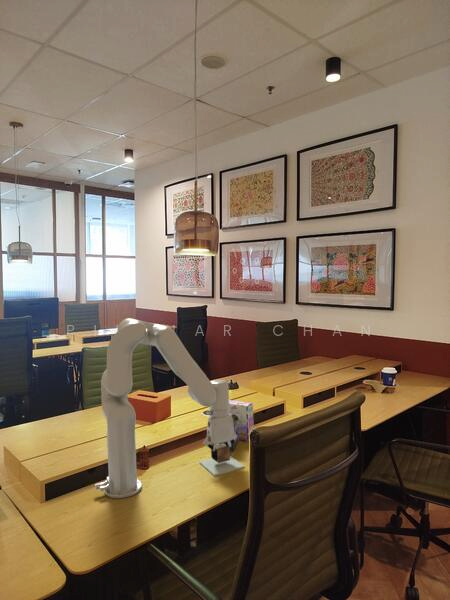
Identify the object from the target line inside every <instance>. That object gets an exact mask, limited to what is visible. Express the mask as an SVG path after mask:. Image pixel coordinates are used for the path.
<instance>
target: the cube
mask: <svg viewBox="0 0 450 600" xmlns="http://www.w3.org/2000/svg"><path fill="white" fill-rule="evenodd" d="M216 451H217V461H216V462H218V463H221V462H225V461H229V460H230V456H231V452H230V448H229V447H228V446H227V445H225V444H224V443H222V444H217V446H216Z"/></svg>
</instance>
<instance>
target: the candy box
mask: <svg viewBox="0 0 450 600" xmlns="http://www.w3.org/2000/svg"><path fill="white" fill-rule="evenodd" d="M229 414H231V416H232V420H237V441H242V442H247V443H249V442H250V441H249V433H250V431H251V430H253V429H254V427H255V425H254V403H253V402H249V401H248V402H247V401H241V400H233V399H229ZM254 430H255V429H254Z"/></svg>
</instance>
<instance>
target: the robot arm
mask: <svg viewBox="0 0 450 600" xmlns="http://www.w3.org/2000/svg"><path fill="white" fill-rule="evenodd" d="M139 344H143V345H148V346H152V347H153V346H154V347H155V348H156V349H157V350H158V352H159V353H160V354H161V357H163V359H164V360H165V361H166V363H167V365H168V366H169V368H170V369H171V371H173V373H174V374H175V375H176V376H177V377H179V378H180V379H181V380H182V381H183V382H184V383H185V384H186V385H187V386H188V388H187V394H188V396H189V397H190V398H191V400H193V401H195V402H196V403H198V404H199V405H201V406H203V407H209V410H208V411H206V415H207V416H208V418H207V419H208V420H207V427H206V437H205V438H204V440H203V442H202V444H203V445H204V446H206V447H207V448H208V449H210V455H211V458H212V459H213V460H215V461H217V451H216V446H217V445H218V444H219V443H224V442H225V444H226V445H227V446H228V447H229V448H230V447H231V446H232V443H233V442H234V440H235V439H236V438H237V435H236V434H235V432H234V425H233V420H232V416H231V414H229V400H230V393H229V392H230V391H229V390H230V389H229V382H228V381H227V380H226V379H214V380H210V379H209V378H208V377H207V374H206V373H205V372H204V370H202V369H201V367H200V366H199V364H198V363H197V362H196V361H195V360H194V359H193V357H192V356H191V355H190V353H189V351H188V350H187V349H186V347H185V345H184V344H183V343H182V341H181V340H180V338H179V336H178V334H177V333H176V332H175V330H174V329H172V327H170V326H167V325H164V324H159V323H154V322H148V321H144V320H140V319H135V318H131V317H129V318H128V317H127V318H125V319H122V321H120V322H119V323H118V326H117V331H116V332H115V334H114V335H113V336H112V337H111V338H110V341H109V343H108V346H107V349H106V351H107V352H106V368H105V370H104V371H103V373H102V375H101V381H100V388H101V389H100V391H101V392H100V393H101V396H100V397H101V398H100V399H101V410H102V414H103V416H104V417H105V420H106V425H107V426H106V428H107V429H106V443H107V444H106V446H107V448H106V449H107V464H108V465H107V467H108V468H107V469H108V476H106V480H103V481H102V482H97V483H95V484H94V490H95V491H96V490H100V492H104V494H105V495H106V497H108V498H112V499H124V498H129V497H132V496H134V495H136V494H138V493H139V492H140V491H141V489H142V487H143V486H142V485H143V484H142V481H141V480H139V479H138V475H137V473H138V472H137V471H138V470H137V450H136V449H137V448H136V421H137V419H136V418H137V415H136V411H135V409H134V406H133V405H132V403H131V402H130V401H129V399H128V398H129V397H128V395H129V393H130V392H131V391H132V388H133V363H132V362H133V353H134V350H135V348H136V347H137V346H138V345H139Z"/></svg>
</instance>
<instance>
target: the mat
mask: <svg viewBox="0 0 450 600" xmlns="http://www.w3.org/2000/svg"><path fill="white" fill-rule="evenodd" d="M199 464H200V465H201V466H202V467H203V468H204V469H205V470H207V471H208V472H209V473H210V475H212V477H213V476H214V477H217V476H220V475H224V474H227V473H231V472H233V471H239V470H242V469H244V468H245V465H243V463H241V462H239V461H238V460H237V459H235V458H234V457H232V455H230V460H229V461H225V462H221V463H218V462H216V461H215V460H213V459H212V457H211V458H208V459H204V460H200V461H199Z"/></svg>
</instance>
